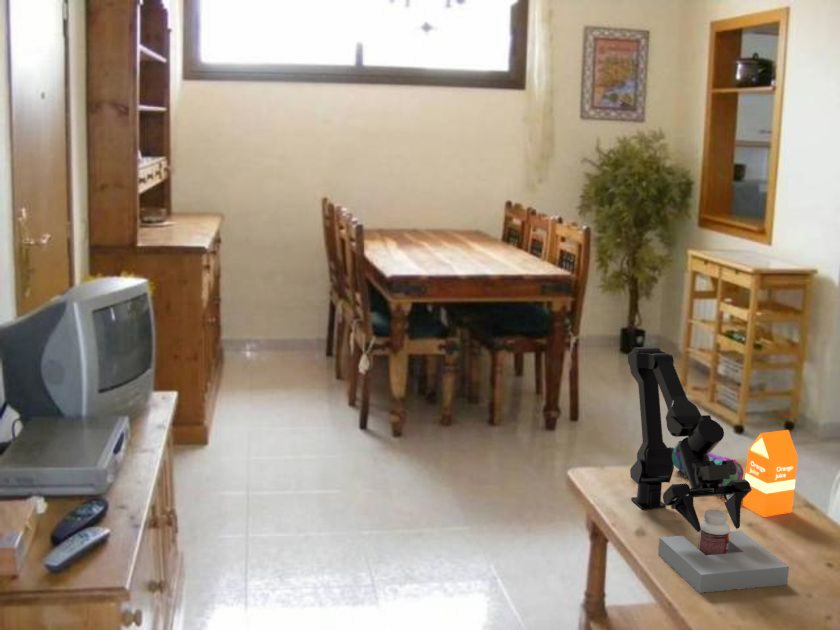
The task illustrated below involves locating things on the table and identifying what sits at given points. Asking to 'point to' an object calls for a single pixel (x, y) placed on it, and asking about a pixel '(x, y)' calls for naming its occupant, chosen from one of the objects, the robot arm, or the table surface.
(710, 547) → the pill bottle
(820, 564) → the table surface
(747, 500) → the orange juice
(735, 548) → the notched board
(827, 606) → the table surface
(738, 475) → the pencil case
